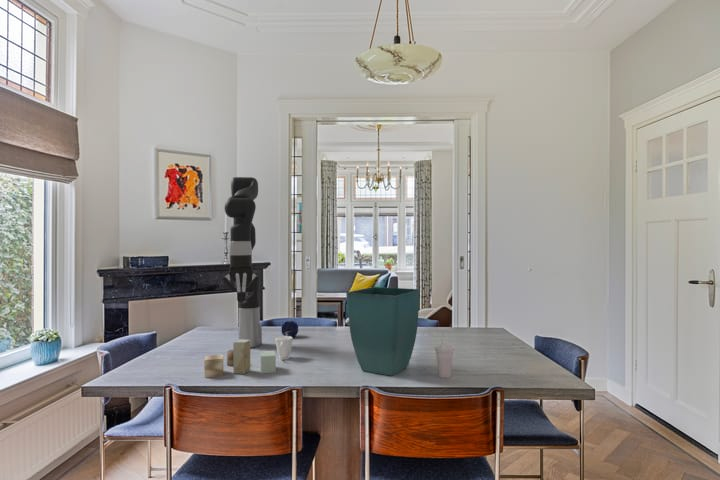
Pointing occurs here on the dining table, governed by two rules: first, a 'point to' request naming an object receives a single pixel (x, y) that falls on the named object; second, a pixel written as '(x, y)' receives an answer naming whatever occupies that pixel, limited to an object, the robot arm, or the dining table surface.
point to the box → (241, 356)
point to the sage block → (267, 362)
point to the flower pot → (383, 327)
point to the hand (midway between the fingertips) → (241, 302)
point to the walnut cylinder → (230, 358)
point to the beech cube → (213, 365)
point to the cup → (284, 346)
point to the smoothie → (444, 359)
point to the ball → (290, 329)
